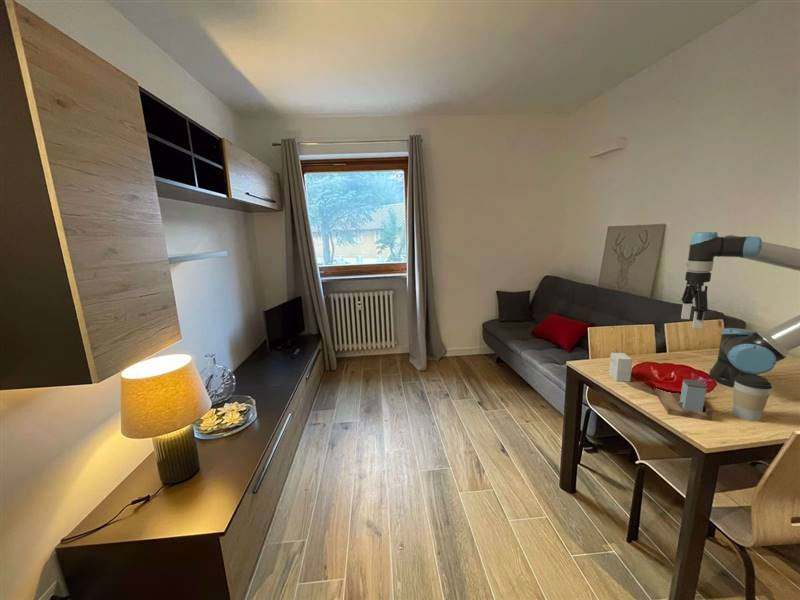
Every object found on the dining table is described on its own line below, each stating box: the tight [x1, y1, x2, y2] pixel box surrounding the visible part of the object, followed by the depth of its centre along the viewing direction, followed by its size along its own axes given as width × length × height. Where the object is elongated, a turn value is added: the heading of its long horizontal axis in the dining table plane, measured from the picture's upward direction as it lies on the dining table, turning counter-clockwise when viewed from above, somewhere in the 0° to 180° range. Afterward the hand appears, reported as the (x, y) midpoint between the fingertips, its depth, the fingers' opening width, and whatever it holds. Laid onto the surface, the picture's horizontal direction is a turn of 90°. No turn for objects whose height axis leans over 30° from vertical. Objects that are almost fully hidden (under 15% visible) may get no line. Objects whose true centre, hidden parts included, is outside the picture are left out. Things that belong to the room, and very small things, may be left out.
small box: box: [608, 352, 633, 382], centre depth 147 cm, size 8×6×10 cm
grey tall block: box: [678, 378, 707, 412], centre depth 118 cm, size 6×5×10 cm
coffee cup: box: [732, 373, 773, 422], centre depth 115 cm, size 9×9×15 cm
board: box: [654, 388, 714, 422], centre depth 124 cm, size 12×19×4 cm, turn 155°
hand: (690, 323), depth 136 cm, fingers open, 13 cm apart
